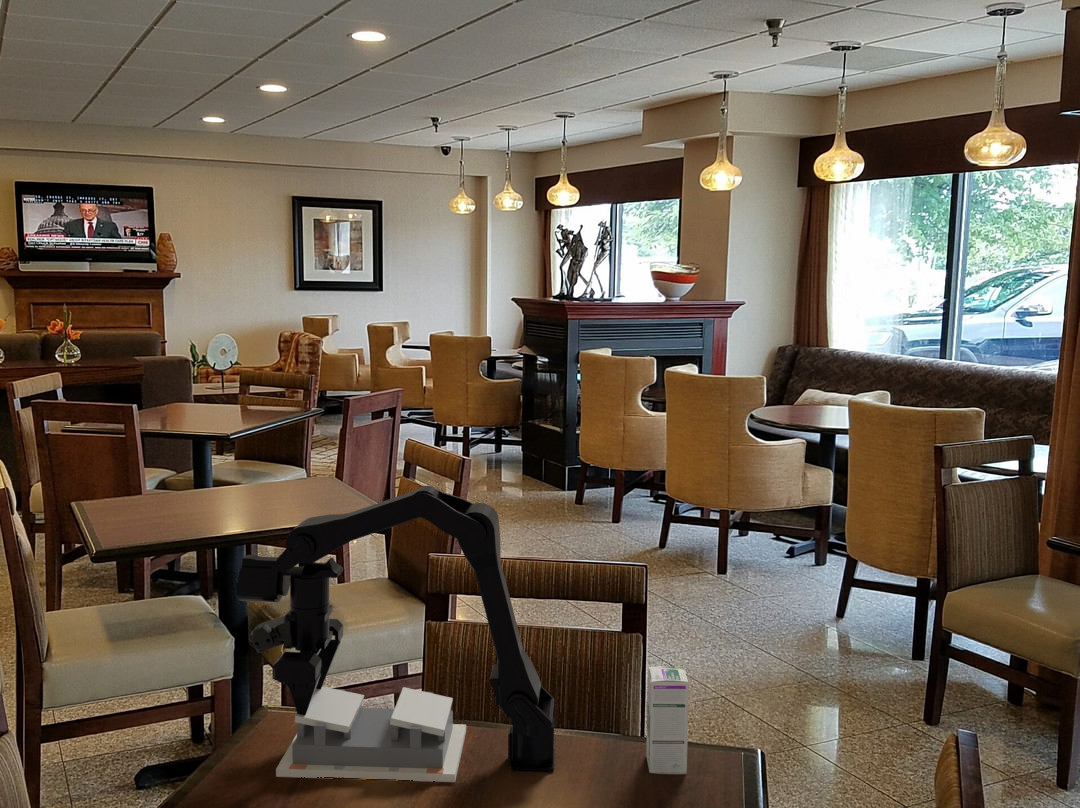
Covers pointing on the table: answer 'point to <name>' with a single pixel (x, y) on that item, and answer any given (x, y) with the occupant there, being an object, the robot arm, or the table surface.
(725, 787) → the table surface
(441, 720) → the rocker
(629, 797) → the table surface
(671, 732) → the syrup box
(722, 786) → the table surface
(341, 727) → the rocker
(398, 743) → the box
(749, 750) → the table surface
